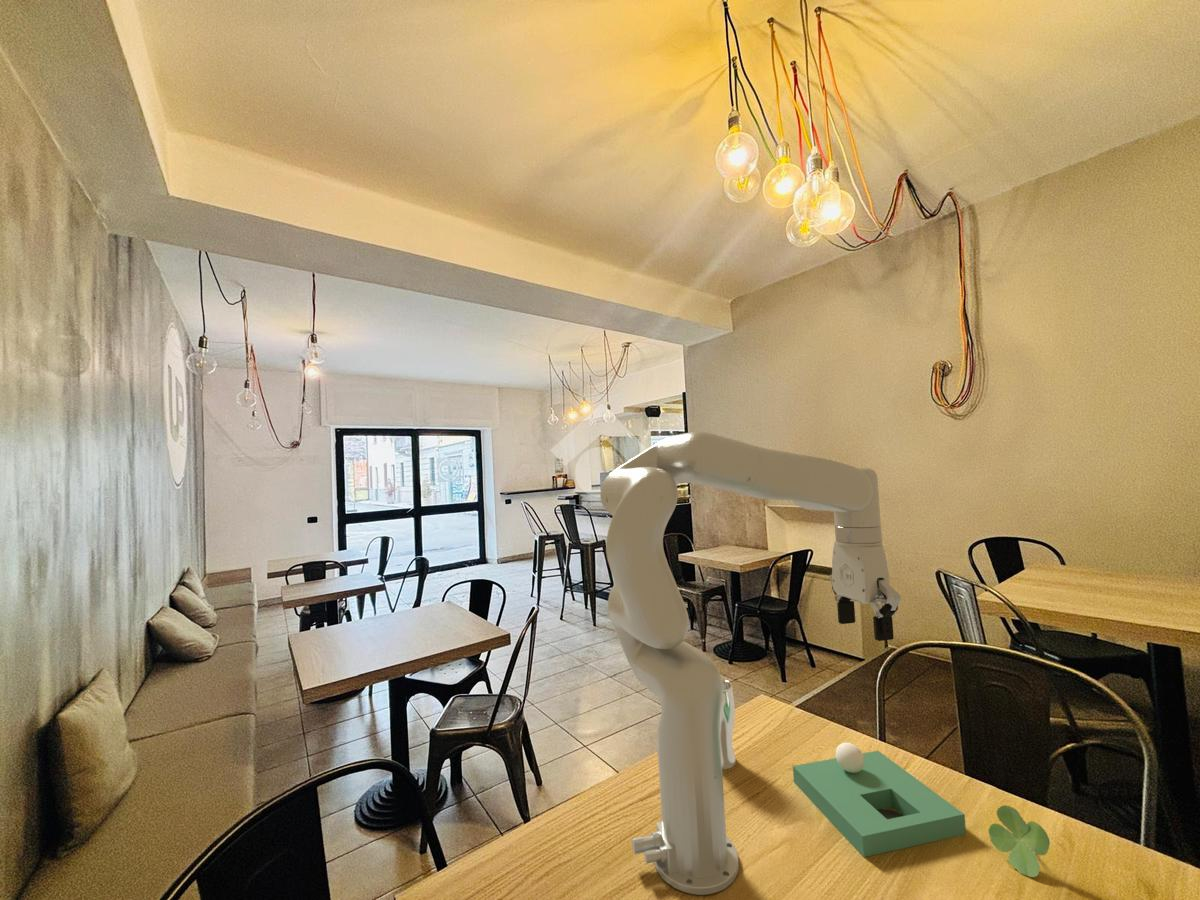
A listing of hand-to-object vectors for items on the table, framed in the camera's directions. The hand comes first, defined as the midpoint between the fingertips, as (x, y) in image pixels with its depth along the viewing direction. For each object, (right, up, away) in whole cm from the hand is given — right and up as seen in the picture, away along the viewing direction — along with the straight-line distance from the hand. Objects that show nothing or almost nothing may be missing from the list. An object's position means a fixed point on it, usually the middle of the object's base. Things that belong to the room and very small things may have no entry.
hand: (864, 630), depth 88 cm
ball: (-3, -23, 0) cm, 23 cm away
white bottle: (-24, -30, +10) cm, 39 cm away
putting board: (-2, -28, -6) cm, 28 cm away
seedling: (+17, -27, -16) cm, 35 cm away
